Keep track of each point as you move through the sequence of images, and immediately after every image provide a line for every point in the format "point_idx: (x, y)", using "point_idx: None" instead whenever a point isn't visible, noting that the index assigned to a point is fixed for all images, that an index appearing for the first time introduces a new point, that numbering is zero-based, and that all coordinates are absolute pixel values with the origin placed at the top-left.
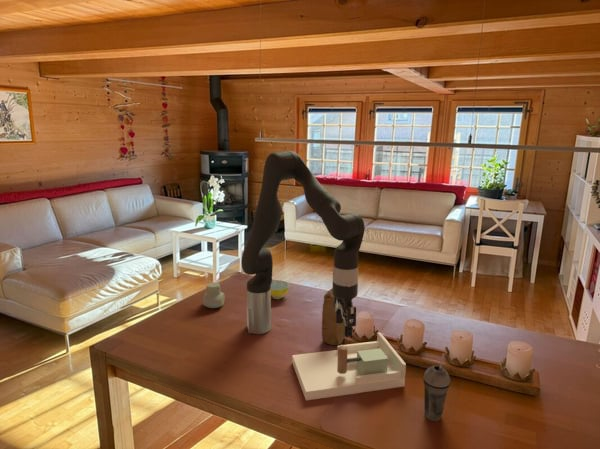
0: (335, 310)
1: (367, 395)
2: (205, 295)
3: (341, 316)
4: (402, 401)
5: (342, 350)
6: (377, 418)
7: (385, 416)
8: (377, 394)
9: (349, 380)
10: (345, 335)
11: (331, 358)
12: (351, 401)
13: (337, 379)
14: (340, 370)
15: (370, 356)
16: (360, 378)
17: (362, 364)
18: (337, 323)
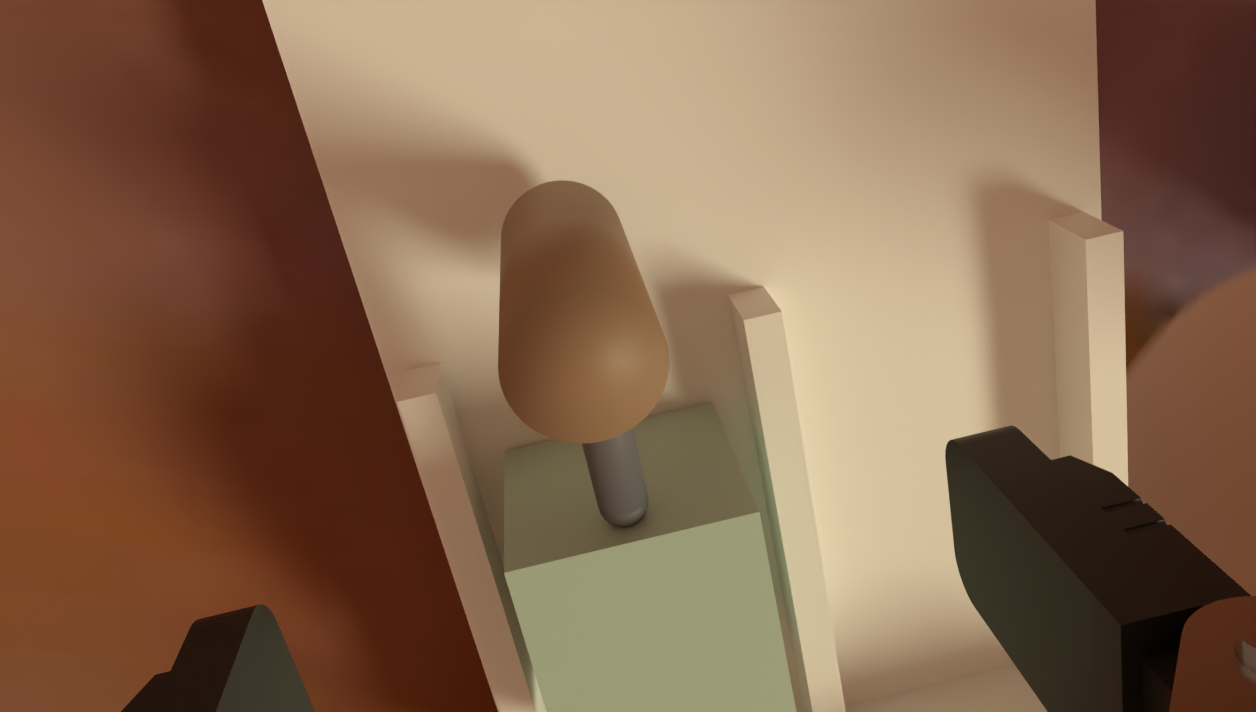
0: (1234, 634)
1: (373, 434)
2: None
3: (1047, 671)
4: (316, 702)
5: (517, 356)
6: (39, 483)
7: (82, 551)
8: (396, 522)
9: (462, 303)
10: (196, 642)
11: (922, 122)
12: (258, 274)
13: (473, 164)
14: (506, 228)
15: (624, 654)
16: (414, 440)
17: (545, 522)
18: (945, 455)
